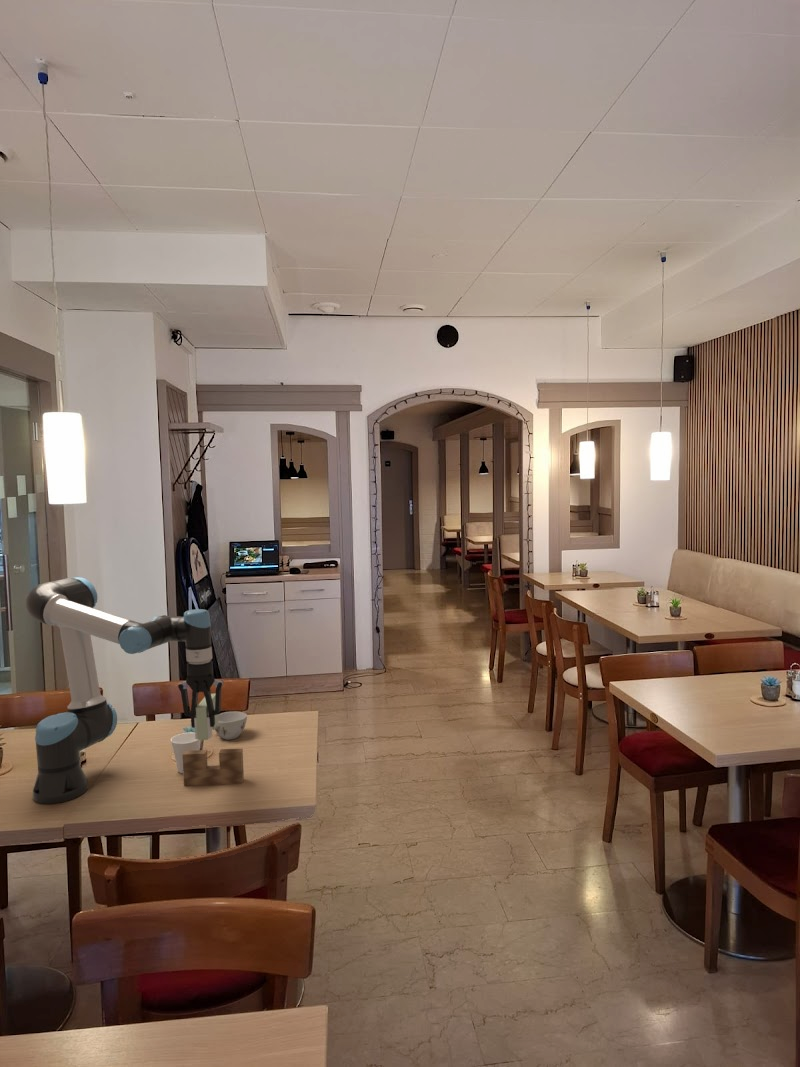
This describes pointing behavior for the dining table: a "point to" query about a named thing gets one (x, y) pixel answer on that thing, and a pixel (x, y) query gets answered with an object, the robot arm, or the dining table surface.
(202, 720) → the green board
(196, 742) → the cup
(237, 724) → the teacup
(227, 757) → the walnut board
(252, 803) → the dining table surface
